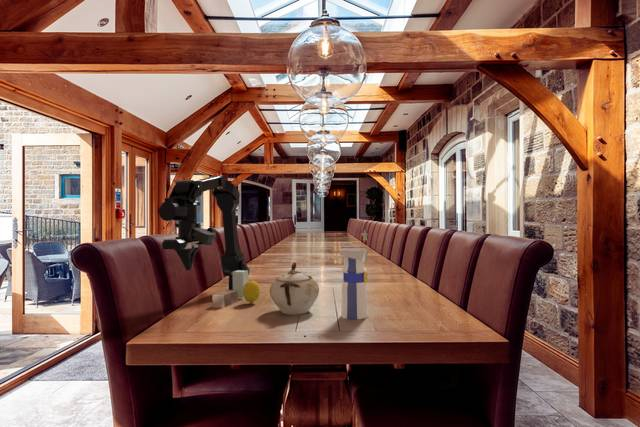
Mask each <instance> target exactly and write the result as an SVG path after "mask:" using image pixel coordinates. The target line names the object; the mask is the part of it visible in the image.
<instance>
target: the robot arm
mask: <svg viewBox="0 0 640 427" xmlns="http://www.w3.org/2000/svg"><path fill="white" fill-rule="evenodd" d="M210 190H211V195H212V196H213V197H214V198H215V200H216V206H217V207H218V208H219V210H220V212H221V213H222V214H221V216H222V224H223V225H222V226H223V237H224V248H225V250H224V253H223V254H222V255H221V256H220V262H221V264H220V265H221V266H220V268H221V272H222V276H223V277H228V285H227V286H228V290H233V272H234V271H237V270H244V271H248V276H249V275H250V268H249V267H248V264H247V262H246V260H245V255H244V253H243V252H242V251H241V249H240V248H239V237H238V226H237V225H238V223H237V213H236V211H237V209H238V207H239V204H240V197H241V194H240V190H239V189H238V188H237V186H236V185H235V184H234V183H233V182H231V181H229V180H228V179H227V178H226V177H225V176H224V175H221V174H220V175H219V174H218V175H211V176H209V177H204V178H200V179H183V180H181V179H180V180H179V179H178V180H177V181H175V183H174V186H173V187H172V189H171V192H170V194H169V196H168V197H165V198H164V202H162V203H161V205H160V206H159V208H158V214H159V217H160V219H162V220H163V221H165V222H174V221H175V222H176V221H177V223H175V224H174V225H175V226H174V227H175V228H178V229H177V232H178V233H177V234H178V236H175V238H169V239H163V241H162V242H161V250H173V251H175V252H176V254H177V256H178V258H179V259H180V260H181V262H182V264H183V266H184V268H185V270H186V271H191V270H192V266H193V263H194V260H195V258H196V254H197V252H199V250H201V249H202V248H203V247H202V245H205V246H211V245H213V242H214V239H216V238H217V231H216V228H213V227H209V228H207V229H205V228H202V226H201V223H199V222H198V206H201V203H200V201H198V198H199V197H200V196H202V195H203V193H204V192H207V191H210ZM199 245H201V246H199Z"/></svg>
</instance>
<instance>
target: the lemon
mask: <svg viewBox="0 0 640 427" xmlns="http://www.w3.org/2000/svg"><path fill="white" fill-rule="evenodd" d="M260 294H261V290H260V285H259V283H258V282H257V281H255V280H253V279H249V280H248V282H246V283H245V285H244V287H243V296H244V298H245V299H244V300H245V301H247V302H249V303H250V304H254V303H255V302H256V301H257V300H258V299H259V297H260Z"/></svg>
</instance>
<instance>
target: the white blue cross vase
mask: <svg viewBox="0 0 640 427" xmlns="http://www.w3.org/2000/svg"><path fill="white" fill-rule="evenodd" d="M368 235H369V233H367V232H366V230H365V229H363V233H361V236H362V237H363V240H362V242H366V241H368V237H367V236H368ZM339 256H342V257H343V267H342V268H341V271H342V275H343V277H342V283H341V284H342V285H341V316H340V317H341V319H342V318H343V319H346V320H363V319H367V318H368V317H369V313H368V298H367V297H368V291H367V288H368V287H367V282H368V271H367V268H366V267H365V260H367V258H368V256H369V254H368V250H367V249H366V248H362V247H360V248H358V247H346V248H344V247H343V248H341V249H340V252H339Z"/></svg>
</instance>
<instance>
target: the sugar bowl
mask: <svg viewBox="0 0 640 427" xmlns="http://www.w3.org/2000/svg"><path fill="white" fill-rule="evenodd" d="M296 269H297V263H296V262H293V263H292V264H291V269H290V270H289V271H288V272H287V273H285V274H283V275H282V274H281V276H277V277H276V278H275V279H274V280H273V282H271V285H270V287H269V295H270V298H271V300H272V302H273V303H274V305H276V307H277V308H278V309H279V311H280V312H281V313H282V314H283V315H291V316H292V315H297V316H298V315H304V314H306V313H307V314H308V313H309V311H310V309H311V308H312V307H313V305H314V304H315V302H316V300H317V298H318V296H319V293H320V286H319V284H318V281H316V280H315V279H314V277H312V276H310V275H308V274H305V273H302V272H300V271H297V270H296Z"/></svg>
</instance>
